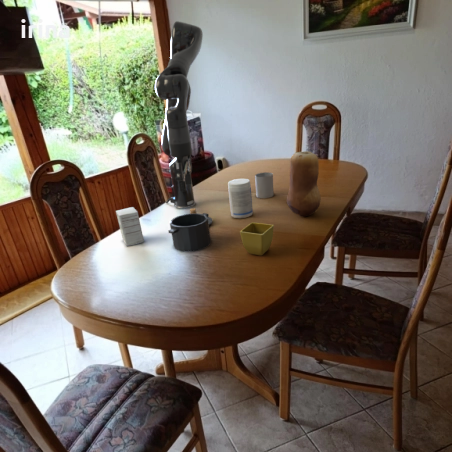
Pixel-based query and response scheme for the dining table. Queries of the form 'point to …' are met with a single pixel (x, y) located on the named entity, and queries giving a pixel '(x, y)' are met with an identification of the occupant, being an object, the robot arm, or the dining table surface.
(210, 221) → the lid
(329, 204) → the dining table surface
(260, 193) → the cup
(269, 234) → the flower pot
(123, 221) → the white packaging box
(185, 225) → the pot
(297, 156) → the butternut squash
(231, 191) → the supplement tub
